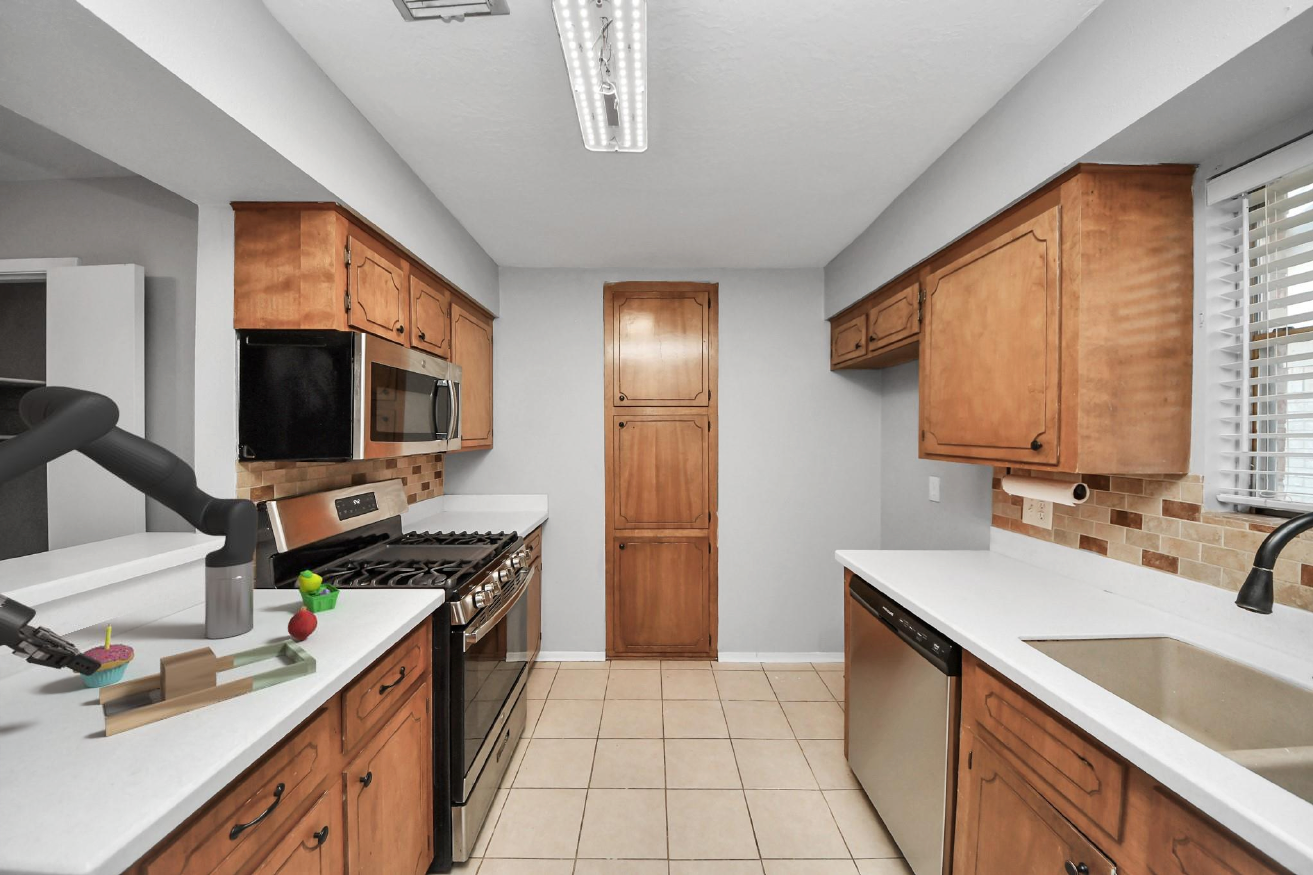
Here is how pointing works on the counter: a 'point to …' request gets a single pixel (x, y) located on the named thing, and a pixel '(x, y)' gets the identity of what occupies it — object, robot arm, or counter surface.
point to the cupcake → (108, 662)
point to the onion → (302, 624)
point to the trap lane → (135, 709)
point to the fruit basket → (316, 592)
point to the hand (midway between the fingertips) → (96, 669)
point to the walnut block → (187, 673)
